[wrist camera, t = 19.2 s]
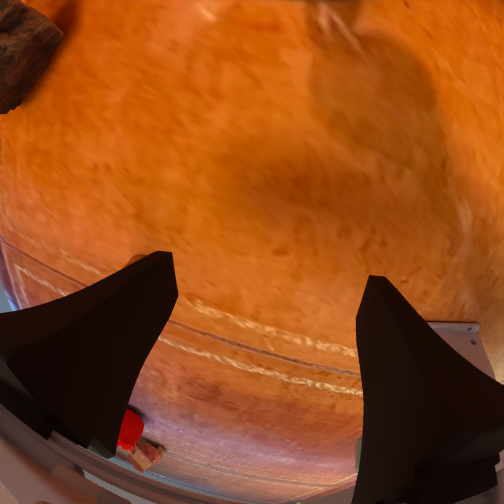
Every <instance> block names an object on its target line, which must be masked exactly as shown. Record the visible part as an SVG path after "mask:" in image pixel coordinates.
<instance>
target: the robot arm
mask: <svg viewBox="0 0 504 504" xmlns="http://www.w3.org/2000/svg"><path fill="white" fill-rule="evenodd" d="M177 298H178V290H177V283H176V277H175V270H174V263H173V256H172V252H165V251H156V252H153V253H151V254H149V255H147V256H145V257H143V258H141V259H139V260H138V261H136V262H134V263H132V264H130V265H128V266H127V267H125V268H123V269H121V270H119V271H117V272H116V273H114V274H112V275H110V276H108V277H106V278H104V279H102V280H100V281H98V282H96V283H94V284H93V285H90V286H88V287H86V288H84V289H82V290H80V291H77V292H75V293H72V294H70V295H68V296H65V297H62V298H59V299H56V300H53V301H50V302H47V303H45V304H41V305H38V306H34V307H30V308H26V309H22V310H17V311H12V312H6V313H0V483H1V485H2V486H3V487H4V488H5V490H6V491H7V492H8V493H9V495H10V496H11V497H12V498H13V499H14V500H15V502H16V503H17V504H131V502H130V501H129V500H127V499H124V498H122V497H120V496H118V495H116V494H114V493H112V492H110V491H108V490H106V489H104V488H103V487H101V486H99V485H97V484H95V483H93V482H92V481H90V480H88V479H86V478H85V476H84V472H83V470H85V471H86V472H88V473H90V474H92V475H94V476H96V477H98V478H100V479H101V480H103V481H105V482H107V483H110V484H111V485H114V486H116V487H118V488H120V489H122V490H124V491H127V492H129V493H131V494H133V495H136V496H138V497H141V498H143V499H146V500H149V501H151V502H154V503H157V504H244V503H238V502H232V501H227V500H222V499H217V498H213V497H209V496H204V495H201V494H196V493H193V492H189V491H186V490H182V489H179V488H176V487H172V486H169V485H166V484H163V483H161V482H157V481H155V480H152V479H149V478H147V477H144V476H142V475H139V474H136V473H134V472H132V471H129V470H127V469H124V468H122V467H120V466H118V465H116V464H113V463H111V462H109V461H107V460H105V459H103V458H101V457H99V456H97V455H95V454H93V453H91V452H89V451H87V450H85V449H88V450H90V451H92V452H94V453H96V454H98V455H100V456H102V457H104V458H107V459H109V458H112V457H114V456H115V453H116V448H117V443H118V438H119V434H120V429H121V426H122V422H123V419H124V415H125V412H126V408H127V405H128V402H129V399H130V396H131V394H132V391H133V388H134V385H135V383H136V380H137V378H138V375H139V373H140V370H141V368H142V366H143V364H144V362H145V360H146V358H147V356H148V355H149V353H150V351H151V349H152V347H153V346H154V344H155V342H156V340H157V339H158V337H159V335H160V334H161V332H162V330H163V328H164V326H165V325H166V323H167V321H168V319H169V318H170V315H171V313H172V311H173V308H174V306H175V303H176V300H177ZM479 328H480V325H479V324H478V323H438V322H426V321H425V320H424V319H423V318H422V317H421V316H420V315H419V314H418V313H417V311H416V310H415V309H414V308H413V307H412V306H411V305H410V304H409V302H408V301H407V300H406V299H405V298H404V297H403V296H402V294H401V293H400V292H399V291H398V290H397V289H396V288H395V287H394V285H393V284H392V283H391V282H390V281H389V280H388V279H387V278H386V277H384V276H374V275H369V277H368V281H367V284H366V288H365V291H364V294H363V297H362V301H361V304H360V307H359V310H358V313H357V316H356V343H357V350H358V357H359V364H360V372H361V380H362V388H363V400H364V413H363V434H362V446H361V455H360V462H359V469H358V475H357V480H356V485H355V490H354V495H353V499H352V503H351V504H504V385H502V384H501V383H499V382H498V381H496V380H495V374H494V371H493V369H492V366H491V364H490V361H489V359H488V357H487V354H486V352H485V350H484V348H483V345H482V343H481V341H480V339H479V337H478V335H477V332H478V330H479ZM78 445H80V446H82V447H84V448H85V449H84V448H82V447H80V446H78ZM82 469H83V470H82Z"/></svg>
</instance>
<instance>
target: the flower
mask: <svg viewBox="0 0 504 504" xmlns="http://www.w3.org/2000/svg"><path fill="white" fill-rule="evenodd" d="M143 429H144V423H143V420H142V419H141V418H140V417H139V416H138V415H137V414H135V413H134V412H133V411H132V410H130V409H127V408H126V412H125V415H124V419H123V422H122V426H121V429H120V434H119V438H118V443H117V446H119V445H121V447H122V448H123V449H125V450H131V452H132V447H133V448H134V450H135V444H136V442H137V441H138V440H139V439H140V437H141V435H142V433H143Z"/></svg>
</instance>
